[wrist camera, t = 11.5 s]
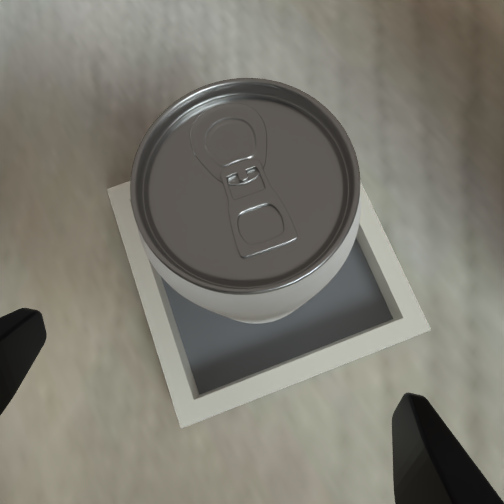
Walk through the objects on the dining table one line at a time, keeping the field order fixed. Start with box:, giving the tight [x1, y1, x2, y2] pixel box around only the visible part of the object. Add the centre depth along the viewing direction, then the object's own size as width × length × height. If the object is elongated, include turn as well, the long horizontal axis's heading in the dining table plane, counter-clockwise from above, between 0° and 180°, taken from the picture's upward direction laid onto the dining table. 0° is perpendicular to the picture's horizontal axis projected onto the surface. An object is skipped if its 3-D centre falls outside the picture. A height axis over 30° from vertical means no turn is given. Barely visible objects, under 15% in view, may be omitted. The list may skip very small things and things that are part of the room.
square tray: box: [107, 181, 431, 428], centre depth 20 cm, size 13×13×2 cm
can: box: [130, 78, 361, 324], centre depth 15 cm, size 6×6×12 cm
